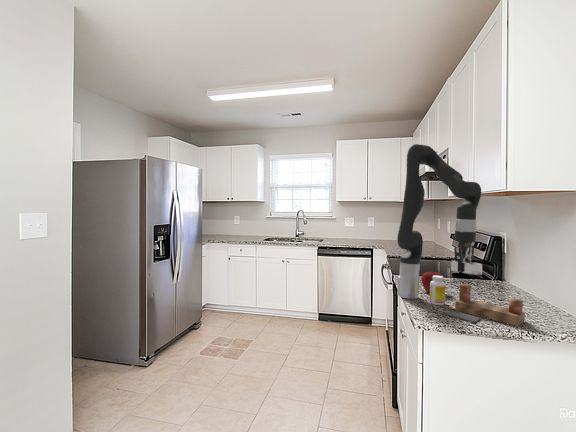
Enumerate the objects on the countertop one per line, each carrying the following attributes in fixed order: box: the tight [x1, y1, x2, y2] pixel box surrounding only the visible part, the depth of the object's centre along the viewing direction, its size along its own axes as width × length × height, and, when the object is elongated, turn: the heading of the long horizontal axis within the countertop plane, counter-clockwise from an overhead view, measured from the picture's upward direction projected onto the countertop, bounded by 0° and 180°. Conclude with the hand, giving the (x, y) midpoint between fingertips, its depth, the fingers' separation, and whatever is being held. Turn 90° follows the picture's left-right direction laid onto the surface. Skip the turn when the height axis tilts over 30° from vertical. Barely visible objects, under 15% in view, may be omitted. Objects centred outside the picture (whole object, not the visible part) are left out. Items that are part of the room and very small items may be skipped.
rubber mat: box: [443, 309, 482, 323], centre depth 131 cm, size 12×7×1 cm, turn 39°
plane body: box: [454, 283, 526, 327], centre depth 133 cm, size 23×9×11 cm, turn 39°
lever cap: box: [450, 259, 483, 276], centre depth 129 cm, size 11×5×4 cm, turn 39°
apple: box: [420, 271, 445, 294], centre depth 167 cm, size 11×11×12 cm
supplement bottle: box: [429, 275, 447, 306], centre depth 148 cm, size 7×7×13 cm
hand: (463, 271), depth 130 cm, fingers closed on lever cap, 5 cm apart
